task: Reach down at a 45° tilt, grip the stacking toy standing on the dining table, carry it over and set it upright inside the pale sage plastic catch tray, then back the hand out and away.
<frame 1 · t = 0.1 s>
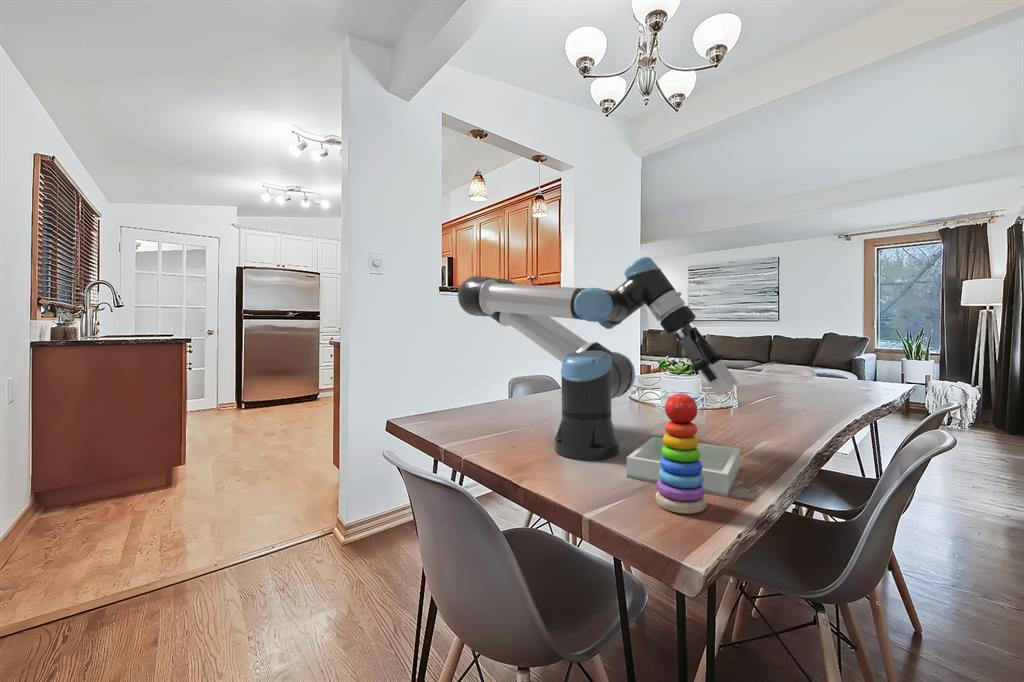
hand: (728, 389, 97), 15 cm above the table, tool tilted 35°, fingers open, 13 cm apart
stacking toy: (680, 506, 72), on the table
catch tray: (684, 472, 88), on the table
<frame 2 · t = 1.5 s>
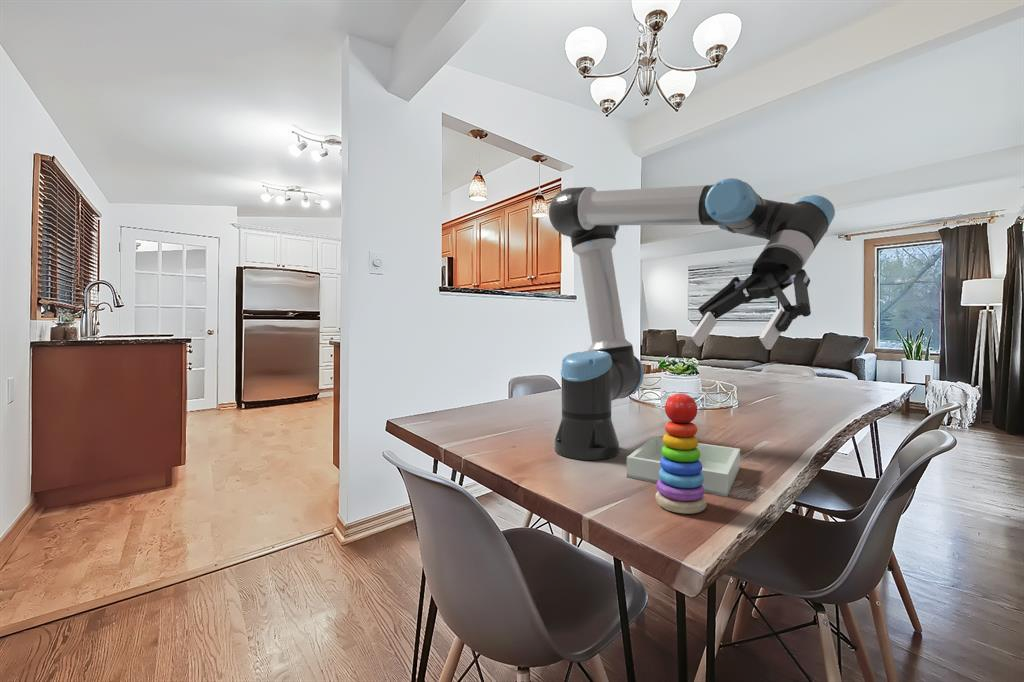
hand: (727, 342, 76), 27 cm above the table, tool tilted 45°, fingers open, 13 cm apart
nothing on the table moved.
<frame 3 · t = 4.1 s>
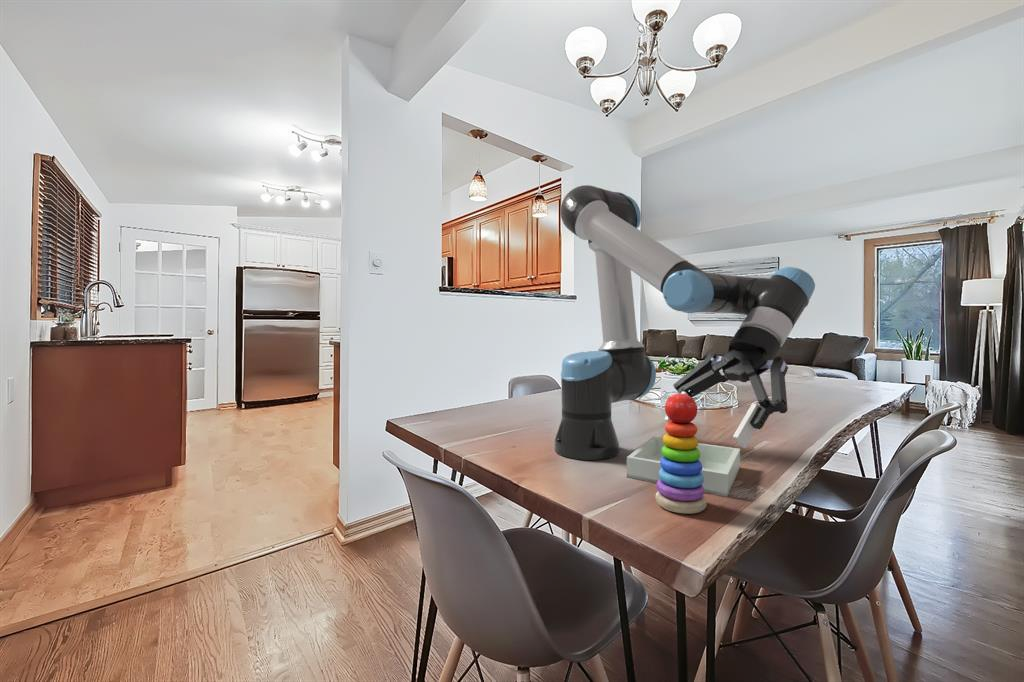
hand: (701, 432, 72), 12 cm above the table, tool tilted 45°, fingers open, 13 cm apart
nothing on the table moved.
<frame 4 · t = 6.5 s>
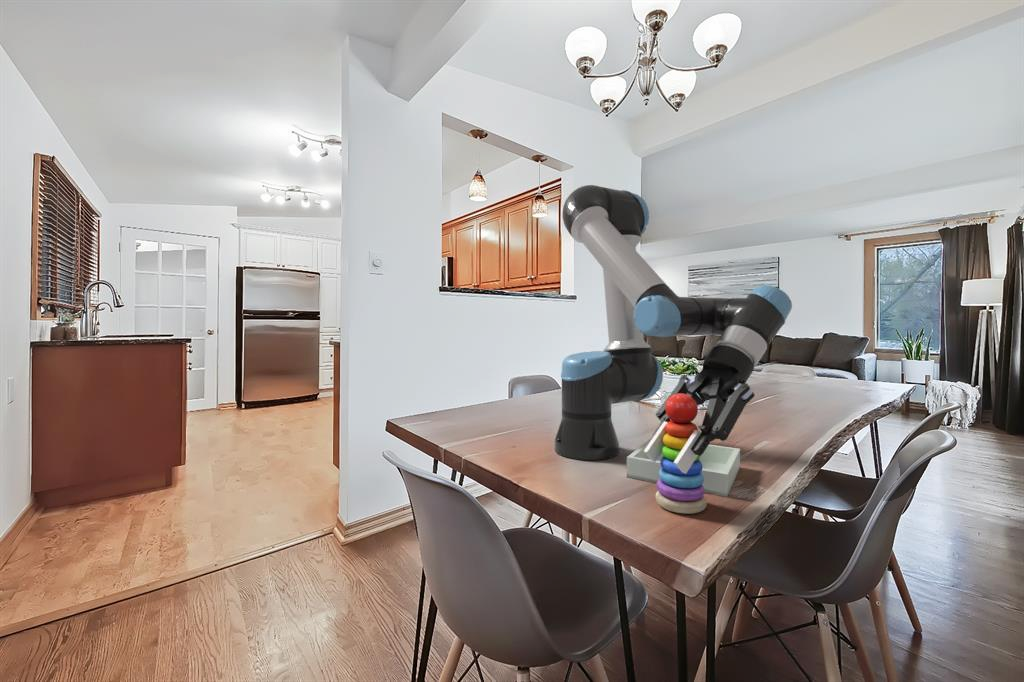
hand: (664, 461, 70), 8 cm above the table, tool tilted 45°, fingers closed on stacking toy, 6 cm apart
stacking toy: (680, 506, 72), on the table, touching gripper
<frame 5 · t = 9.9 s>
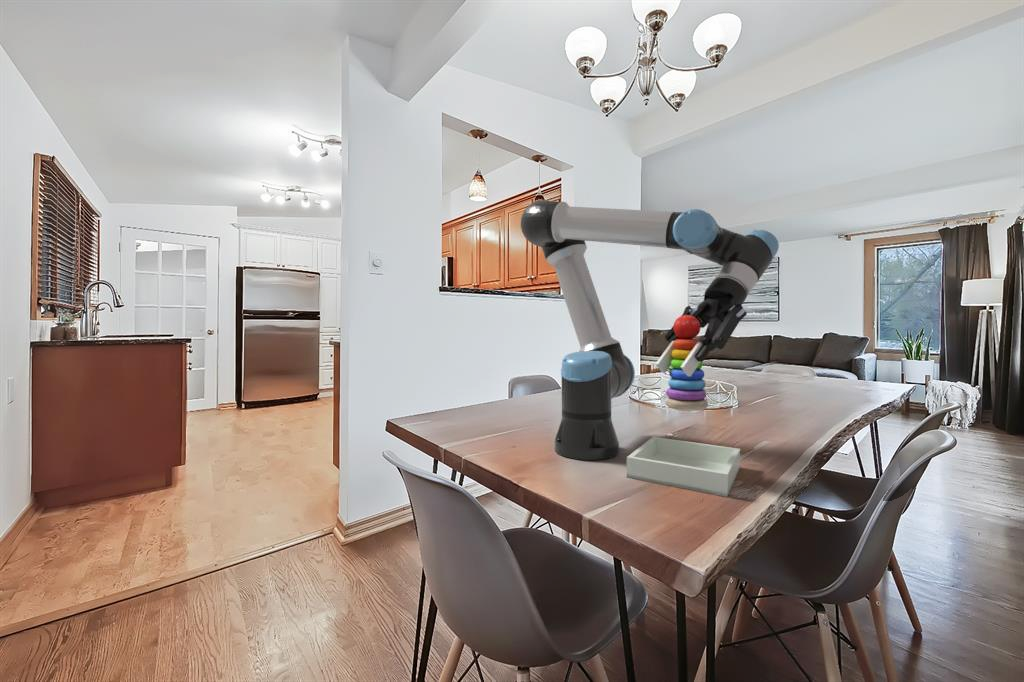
hand: (672, 369, 86), 21 cm above the table, tool tilted 45°, fingers closed on stacking toy, 6 cm apart
stacking toy: (686, 408, 87), point 13 cm above the table, touching gripper
when the fingers open (10 cm above the table, at t = 13.2 s): stacking toy drops 1 cm, resting on catch tray.
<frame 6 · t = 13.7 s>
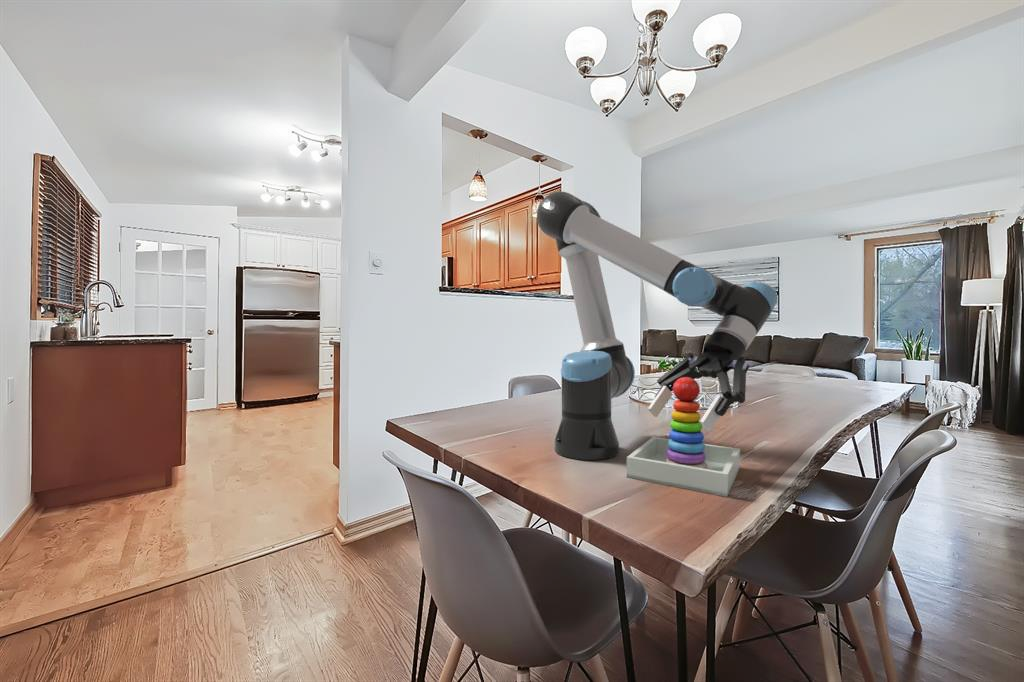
hand: (676, 419, 87), 11 cm above the table, tool tilted 45°, fingers open, 13 cm apart
stacking toy: (686, 470, 88), resting on catch tray
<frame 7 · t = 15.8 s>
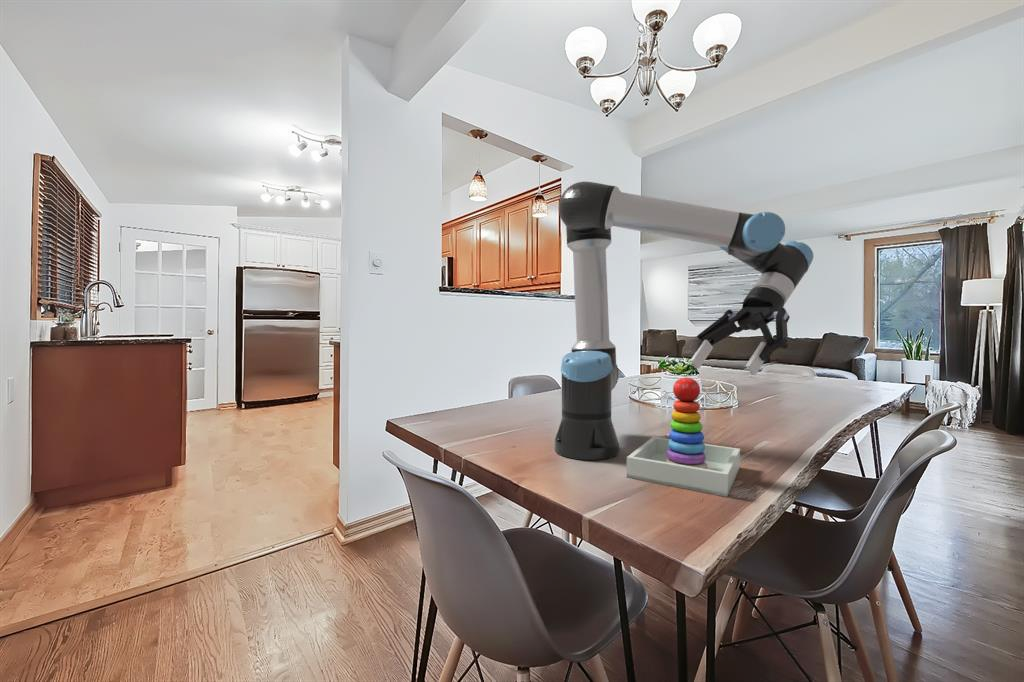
hand: (720, 367, 91), 21 cm above the table, tool tilted 45°, fingers open, 13 cm apart
nothing on the table moved.
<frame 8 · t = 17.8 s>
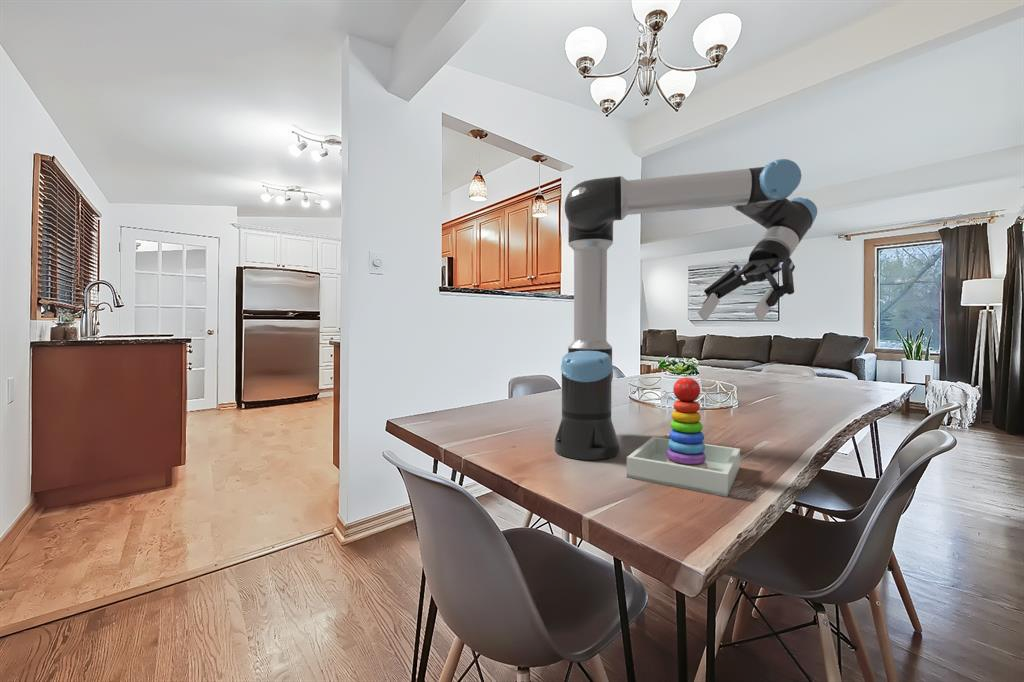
hand: (727, 316, 94), 32 cm above the table, tool tilted 45°, fingers open, 13 cm apart
nothing on the table moved.
at the end: stacking toy inside the target area on the catch tray (0.2 cm from its centre), point 0.4 cm above the catch tray's base; stacking toy tilted 0°; the gripper is holding nothing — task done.
